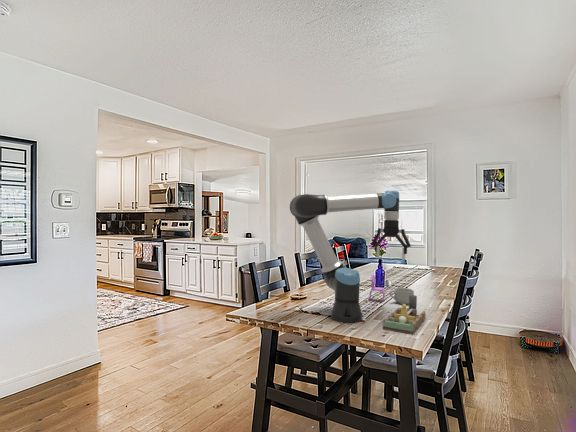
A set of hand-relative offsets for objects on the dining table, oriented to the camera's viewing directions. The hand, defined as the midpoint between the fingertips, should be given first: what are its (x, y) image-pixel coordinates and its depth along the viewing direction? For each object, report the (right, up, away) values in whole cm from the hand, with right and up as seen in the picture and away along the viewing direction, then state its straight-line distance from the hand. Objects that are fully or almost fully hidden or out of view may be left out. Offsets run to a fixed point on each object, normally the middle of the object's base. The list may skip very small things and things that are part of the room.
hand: (390, 259), depth 198 cm
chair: (-3, -27, +19) cm, 33 cm away
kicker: (+3, -26, -19) cm, 33 cm away
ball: (-3, -24, -30) cm, 38 cm away
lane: (0, -27, -25) cm, 37 cm away
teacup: (+10, -27, +14) cm, 32 cm away
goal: (-5, -26, -34) cm, 43 cm away
